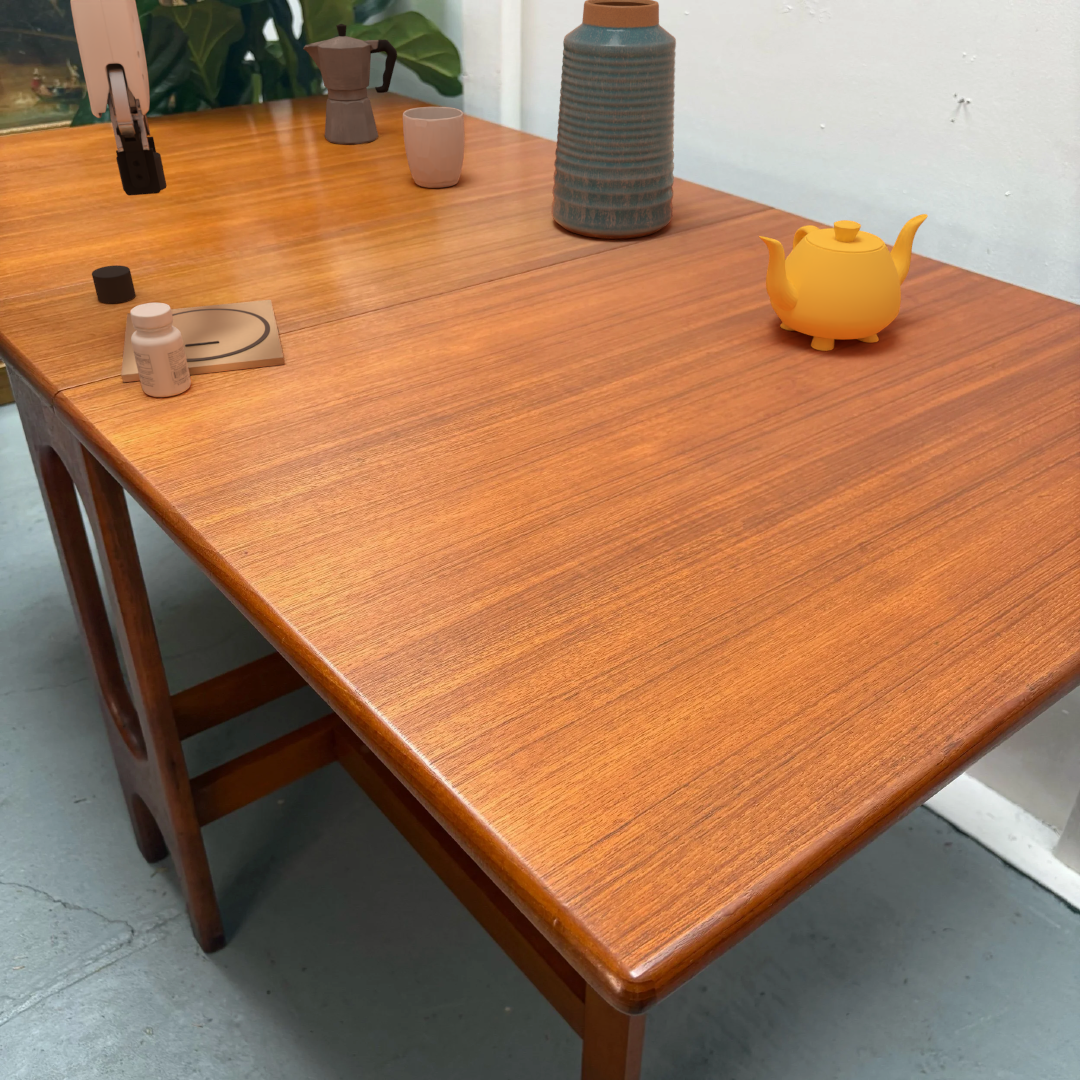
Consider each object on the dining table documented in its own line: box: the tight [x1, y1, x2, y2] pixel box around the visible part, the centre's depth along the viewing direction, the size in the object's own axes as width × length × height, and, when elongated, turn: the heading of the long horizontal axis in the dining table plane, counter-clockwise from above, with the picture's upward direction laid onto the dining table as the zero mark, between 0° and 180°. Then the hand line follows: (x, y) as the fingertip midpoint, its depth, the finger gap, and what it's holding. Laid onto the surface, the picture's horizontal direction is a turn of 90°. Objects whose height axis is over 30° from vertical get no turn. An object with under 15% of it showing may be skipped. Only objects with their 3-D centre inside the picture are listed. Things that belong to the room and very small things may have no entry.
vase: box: [550, 0, 677, 240], centre depth 131 cm, size 16×16×27 cm
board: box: [120, 299, 286, 383], centre depth 104 cm, size 15×16×1 cm
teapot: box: [758, 213, 928, 352], centre depth 105 cm, size 20×15×12 cm
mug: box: [402, 106, 466, 189], centre depth 153 cm, size 13×9×10 cm
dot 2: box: [115, 151, 167, 192], centre depth 98 cm, size 4×4×3 cm
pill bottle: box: [129, 302, 192, 398], centre depth 93 cm, size 4×4×8 cm
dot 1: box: [91, 264, 136, 305], centre depth 113 cm, size 4×4×3 cm
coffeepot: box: [303, 23, 398, 145], centre depth 173 cm, size 15×9×18 cm, turn 95°
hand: (143, 185), depth 98 cm, fingers closed on dot 2, 4 cm apart
